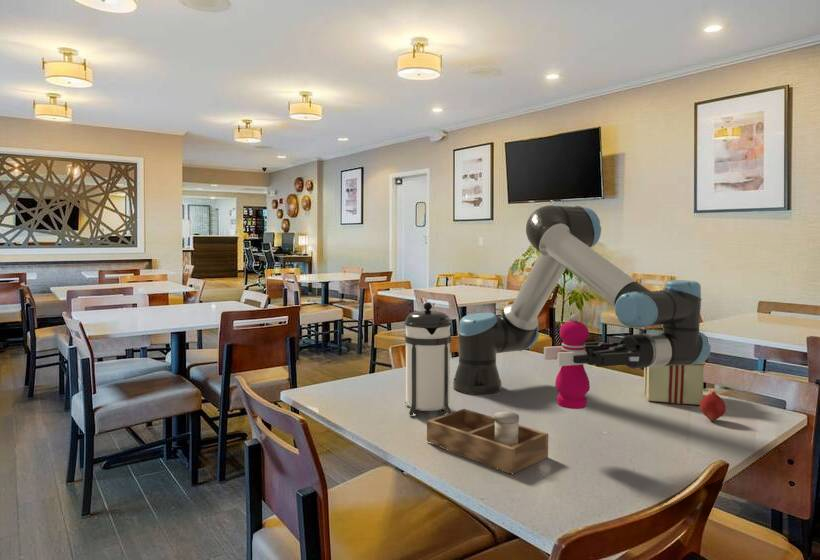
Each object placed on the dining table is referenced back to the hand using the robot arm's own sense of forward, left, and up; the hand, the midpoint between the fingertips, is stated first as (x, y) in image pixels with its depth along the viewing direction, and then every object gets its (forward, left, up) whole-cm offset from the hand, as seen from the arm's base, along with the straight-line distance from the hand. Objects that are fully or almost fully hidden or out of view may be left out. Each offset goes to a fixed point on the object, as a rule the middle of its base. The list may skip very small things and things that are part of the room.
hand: (551, 356), depth 117 cm
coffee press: (-42, +4, -22) cm, 48 cm away
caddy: (-12, -7, -22) cm, 26 cm away
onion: (+16, +51, -22) cm, 58 cm away
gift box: (-1, +66, -22) cm, 69 cm away
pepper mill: (+2, +5, -11) cm, 12 cm away
